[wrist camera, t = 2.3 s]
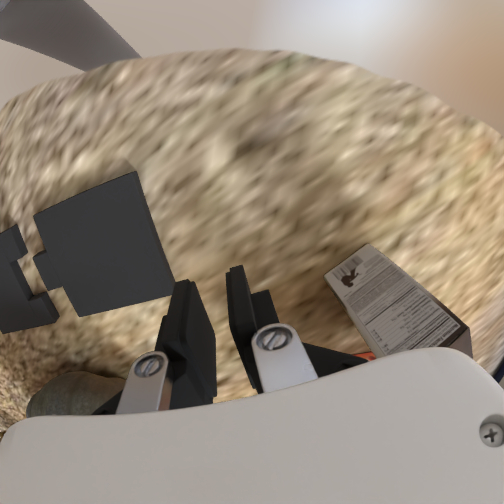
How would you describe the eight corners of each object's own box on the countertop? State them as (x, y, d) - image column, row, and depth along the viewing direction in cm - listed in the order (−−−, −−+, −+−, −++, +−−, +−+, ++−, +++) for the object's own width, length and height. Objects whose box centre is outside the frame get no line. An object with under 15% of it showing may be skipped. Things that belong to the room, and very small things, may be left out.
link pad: (26, 219, 23) (18, 223, 22) (136, 170, 23) (131, 172, 22) (69, 313, 28) (64, 321, 26) (177, 286, 28) (175, 294, 27)
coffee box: (395, 295, 32) (475, 381, 17) (354, 326, 33) (418, 427, 18) (368, 239, 28) (473, 325, 14) (320, 275, 29) (397, 389, 14)
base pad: (-30, 252, 23) (-37, 256, 22) (17, 224, 23) (9, 228, 22) (7, 328, 28) (2, 334, 26) (60, 316, 28) (55, 323, 26)
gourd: (79, 451, 36) (63, 520, 19) (24, 341, 30) (-32, 410, 14) (206, 453, 41) (220, 532, 24) (181, 337, 35) (183, 437, 19)
